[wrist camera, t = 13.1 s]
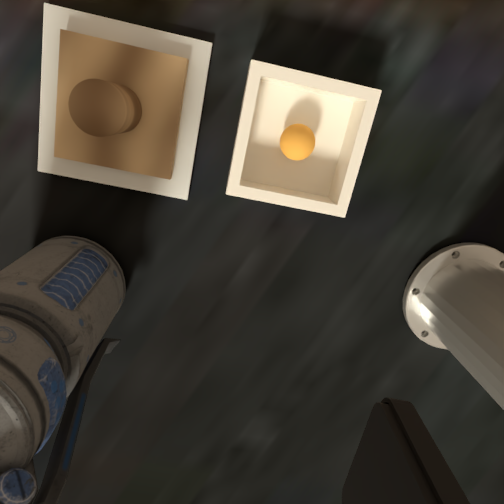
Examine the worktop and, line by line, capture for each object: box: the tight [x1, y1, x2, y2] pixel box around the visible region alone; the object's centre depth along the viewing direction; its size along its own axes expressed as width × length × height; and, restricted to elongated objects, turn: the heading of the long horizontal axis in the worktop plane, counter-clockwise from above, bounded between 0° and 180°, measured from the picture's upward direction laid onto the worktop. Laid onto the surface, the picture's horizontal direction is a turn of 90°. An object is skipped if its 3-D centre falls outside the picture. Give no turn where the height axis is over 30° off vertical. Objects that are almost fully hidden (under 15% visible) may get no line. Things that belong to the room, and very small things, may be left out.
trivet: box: [38, 3, 212, 200], centre depth 36 cm, size 14×14×1 cm
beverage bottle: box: [0, 236, 126, 504], centre depth 30 cm, size 10×13×25 cm
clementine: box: [280, 124, 315, 160], centre depth 36 cm, size 3×3×3 cm
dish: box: [226, 59, 382, 218], centre depth 36 cm, size 11×11×4 cm
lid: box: [54, 29, 189, 180], centre depth 33 cm, size 10×10×7 cm
